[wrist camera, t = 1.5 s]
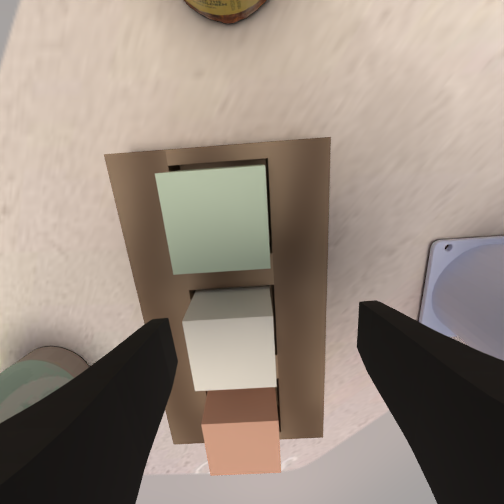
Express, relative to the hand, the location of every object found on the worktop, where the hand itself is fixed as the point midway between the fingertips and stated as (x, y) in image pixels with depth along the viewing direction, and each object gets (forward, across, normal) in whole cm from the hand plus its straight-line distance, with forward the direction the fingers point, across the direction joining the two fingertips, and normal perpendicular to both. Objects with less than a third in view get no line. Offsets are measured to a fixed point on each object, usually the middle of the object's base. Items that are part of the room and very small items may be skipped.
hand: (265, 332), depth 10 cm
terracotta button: (+7, +2, +11) cm, 14 cm away
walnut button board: (+10, +2, +4) cm, 10 cm away
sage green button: (+7, +2, -4) cm, 8 cm away
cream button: (+7, +2, +4) cm, 9 cm away
